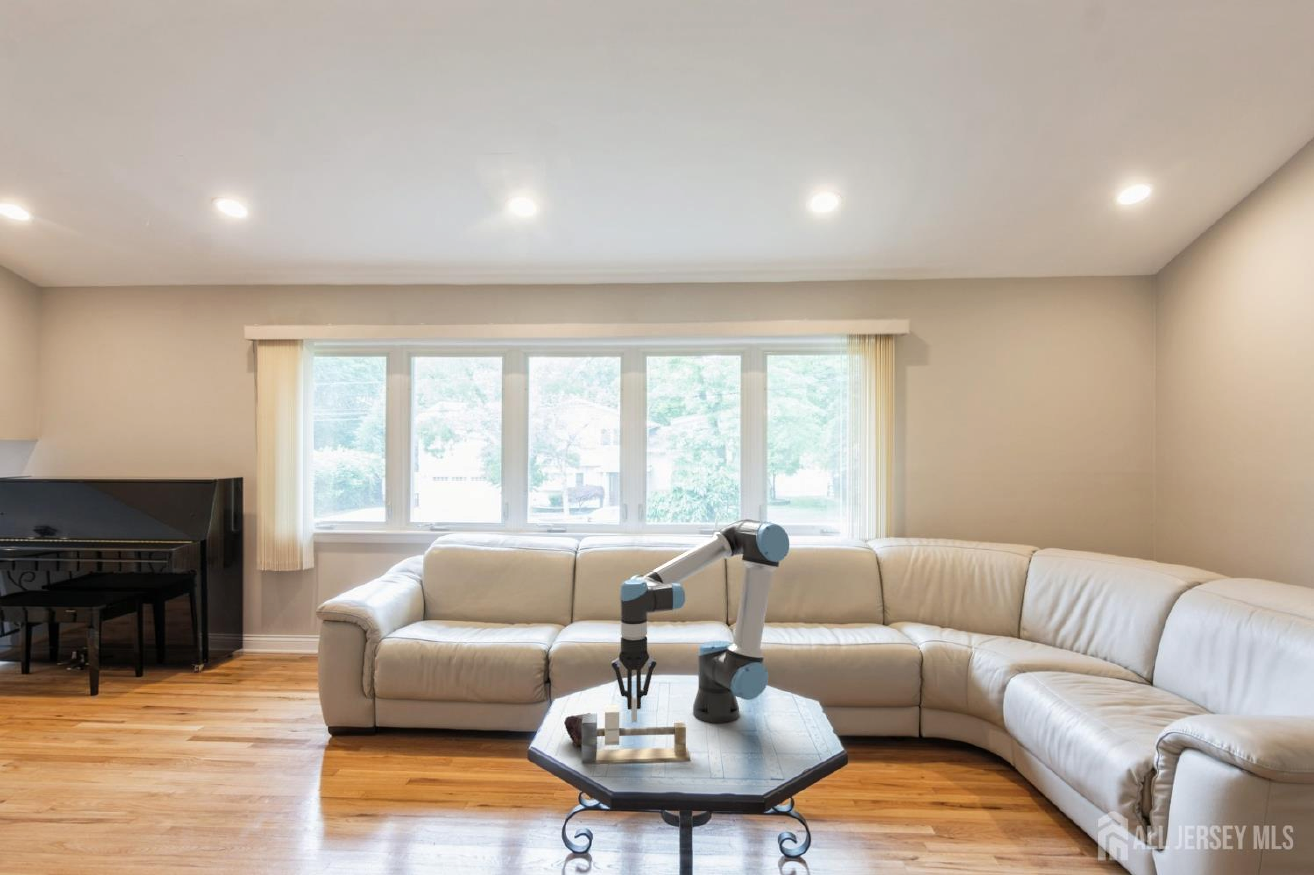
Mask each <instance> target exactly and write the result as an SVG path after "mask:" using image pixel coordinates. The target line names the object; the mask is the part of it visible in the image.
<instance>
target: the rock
mask: <svg viewBox="0 0 1314 875" xmlns="http://www.w3.org/2000/svg"><path fill="white" fill-rule="evenodd" d="M583 714H584V713H582V714H577V715H571V716H570V715H569V716H567V717H565V719H564V726H565V730H566V732H567V734H568V735H569V738H570V739H571V741H572V742H573V744H574V746H581V747H582V718H583ZM586 714H591V712H589V713H586Z"/></svg>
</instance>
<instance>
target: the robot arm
mask: <svg viewBox="0 0 1314 875" xmlns="http://www.w3.org/2000/svg"><path fill="white" fill-rule="evenodd" d="M789 550H790V539H789V536H788V533H787V532H786V529H784V528H783V527H782V526H781V525H779V524H777V523H773V522H771V521H763V520H762V521H761V520H753V519H748V518H747V519H741V520H737V521H735V522H732V523H730V524H728V525H726V526H724V527H722V528H721V529H719V530H717V531H715V532H713V533H712V536H711V537H710V538H709V539H707V540H705V541H704V542H701V543H699V544H698V545H697V546H694V547H692V548H691V549H689V550H687V551H686V552H684V553H682V554H681V555H678V556H677V557H674V558H673V559H672V560H669V561H667V562H666V563H664V564H663V565H660V566H659V567H657V568H655V569H654V570H652V571H650V572H647V573H646V574H644V575H643V574H636V575H635V574H634V575H633V576H631V577H630V578H629V579H626V580H624V581H623V582H622V583H621V586H620V596H619V598H620V599H619V600H620V636H621V637H620V653H619V655H618V658H616V659H613V660H611V667H612V669H613V670H614V672H615V675H616V679H617V684H618V688H619V692H620V695H621V697H624V698H626V699H627V702H626V706H627V710H630V711H631V713H630V714H631V715H630V716H631V723H638V710H641V709H642V698H643V697H645V696H647V695H648V693H649V688H650V684H651V680H652V675H653V671H654V669H655V667H656V666H657V659H655V658H652V657H650V654H649V652H648V637H647V635H648V614H652V613H654V614H655V613H661V612H667V611H668V612H669V611H671V612H673V611H675V610H679V609H681V608H683V607H684V605H685V603H686V592H685V589H684V587H683V585H682V584H680V583H682V582H683V581H686V580H688V579H690V578H691V577H692V576H694V575H696V574H698V573H699V572H701V571H703V570H705V569H707V568H708V567H710V566H712V565H713V564H715V563H717V562H720V560H722V559H725V560H728V559H730V558H732V557H734V556H737V555H742V558H741V562H742V564H744V566H745V569H744V575H743V579H742V580H743V582H742V586H741V593H740V599H739V605H738V610H737V615H736V616H737V617H736V621H735V623H736V624H735V629H734V635H733V640H732V642H731V641H727V640H726V641H725V640H713V641H712V640H711V641H706V642H703V643H701V644H700V645H699V647H698V654H697V656H698V689H697V692H696V695H695V698H694V702H693V705H692V713H693V716H694V717H695V718H697V719H699V720H700V721H703V722H707V723H713V724H714V723H715V724H716V723H717V724H719V723H720V724H723V723H729V722H733V721H735V720H737V719H738V718H739V716H740V707H739V703H738V699H737V698H740V699H742V700H746V701H751V700H755V699H756V698H758V697H759V696H760V695H762V693H763V692H764V691H765V689H766V688H767V686H768V682H769V671H767V668H766V666H765V665H764V664H763V663H764V657H765V655H764V653H763V651H762V650H761V646H762V640H763V633H764V627H765V621H766V615H767V608H768V602H769V596H770V592H771V591H770V589H771V584H772V577H773V573H774V572H775V570H777V569H779V566H780V561H783V560H785V557H787V555H788V553H789ZM646 663H647V666H648V667H647V670H646V674H645V679H644V683H643V684H644V685H643V688H642V669H644V667H645V665H646ZM621 664H622V665H623V667H624V668H625V669H626V671H627V675H626V676H627V677H626V679H627V682H626V685H627V688H625V684H624V681H623V676H622V672H621V668H620V667H621ZM633 671H636V672H635V673H636V677H635V679H636V680H635V682H636V684H635V685H636V689H635V690H636V691H635V695H633V693H632V692H633V691H632V690H633V687H632V686H633V683H632V682H633V681H632V680H633V676H632V674H633Z"/></svg>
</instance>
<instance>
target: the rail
mask: <svg viewBox="0 0 1314 875" xmlns="http://www.w3.org/2000/svg"><path fill="white" fill-rule="evenodd" d="M582 714H583V718H582V746H581V764H582V763H583V764H611V763H614V764H615V763H618V764H619V763H642V762H643V763H645V762H646V763H647V762H650V763H651V762H653V763H654V762H680V761H681V762H682V761H691V756H690V753H689V748H688V747H687V726H686V723H685V722H674V724H673V726H651V727H650V726H648V727H645V726H643V727H619V737H625V736H626V737H627V736H629V737H630V736H663V735H664V736H669V735H670V736H671V735H674V736H673V738H674V739H673V747H660V748H659V747H655V748H623V749H622V748H620V749H614V748H613V749H598V746H597V745H598V737H605V727H604V728H598V713H590V714H587V713H582Z"/></svg>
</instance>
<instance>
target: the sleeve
mask: <svg viewBox="0 0 1314 875" xmlns="http://www.w3.org/2000/svg"><path fill="white" fill-rule="evenodd" d="M604 728H605V736H604V746H619V745H620V736H619V728H620V705H619V704H612V705H611V704H607V705H606V704H605V706H604Z"/></svg>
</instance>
